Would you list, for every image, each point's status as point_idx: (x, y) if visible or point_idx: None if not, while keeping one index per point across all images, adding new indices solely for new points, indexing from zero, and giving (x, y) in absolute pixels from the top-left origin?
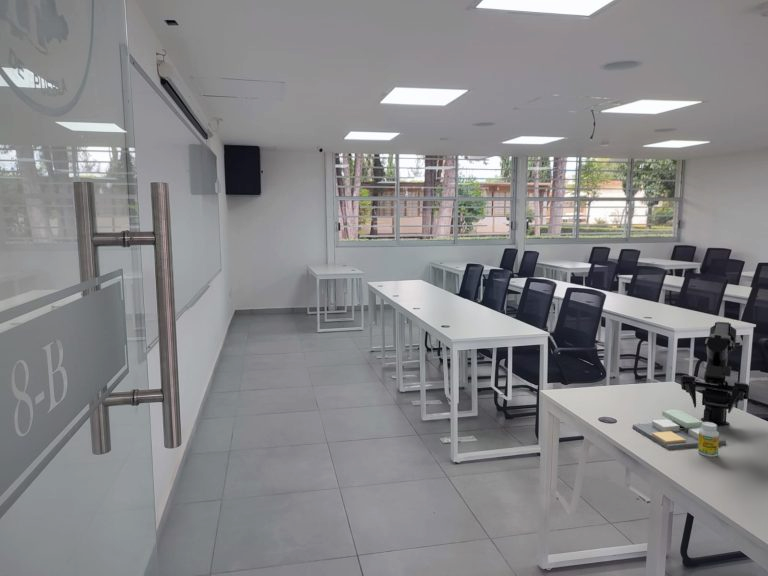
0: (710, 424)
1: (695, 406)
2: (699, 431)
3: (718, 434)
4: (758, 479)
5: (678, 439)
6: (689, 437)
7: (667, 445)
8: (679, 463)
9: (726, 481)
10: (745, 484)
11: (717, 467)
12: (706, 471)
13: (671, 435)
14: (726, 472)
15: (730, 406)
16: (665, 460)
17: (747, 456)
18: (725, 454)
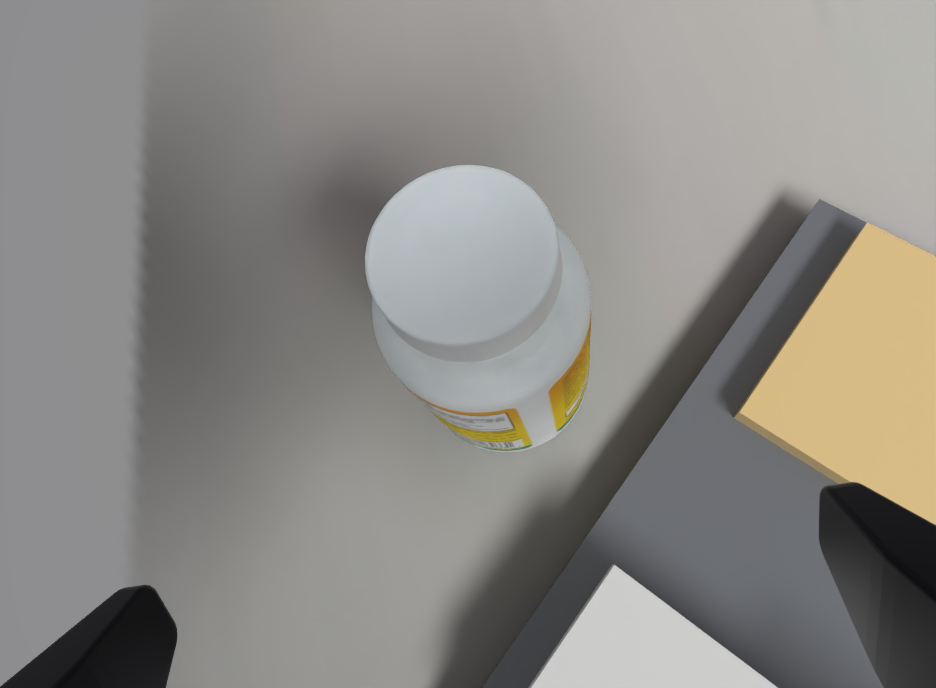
0: (443, 250)
1: (822, 490)
2: (574, 247)
3: (373, 300)
4: (157, 164)
5: (797, 357)
6: (754, 589)
7: (827, 203)
8: (622, 34)
9: (315, 4)
10: (221, 44)
11: (392, 158)
12: (439, 47)
13: (912, 428)
14: (331, 123)
15: (24, 683)
16: (721, 9)
17: (227, 550)
18: (383, 462)
